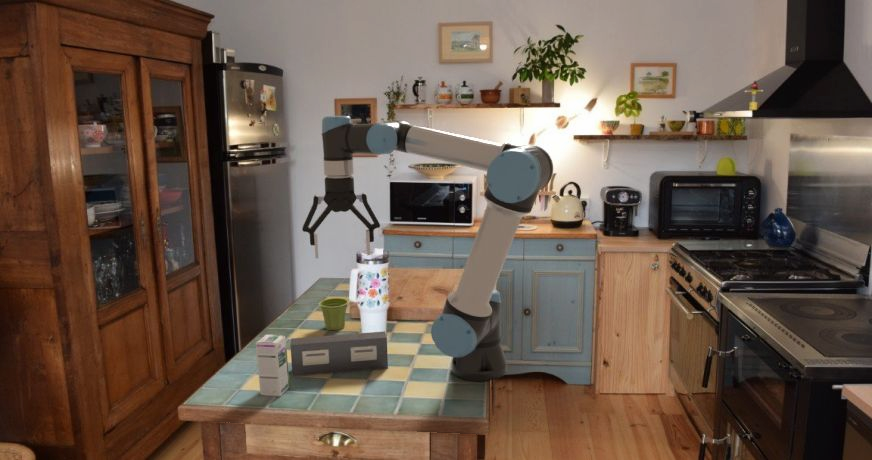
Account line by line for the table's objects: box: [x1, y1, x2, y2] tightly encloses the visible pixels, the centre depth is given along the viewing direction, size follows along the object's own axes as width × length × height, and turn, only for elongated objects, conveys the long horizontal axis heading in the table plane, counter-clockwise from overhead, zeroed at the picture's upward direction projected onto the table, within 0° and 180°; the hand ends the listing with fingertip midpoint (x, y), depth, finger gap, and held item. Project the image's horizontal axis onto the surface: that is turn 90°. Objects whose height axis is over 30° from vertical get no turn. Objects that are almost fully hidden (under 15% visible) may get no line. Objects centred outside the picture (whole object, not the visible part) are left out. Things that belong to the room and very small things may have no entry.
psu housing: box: [290, 331, 389, 377], centre depth 188 cm, size 26×6×9 cm, turn 99°
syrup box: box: [255, 334, 291, 397], centre depth 174 cm, size 6×6×14 cm
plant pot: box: [318, 297, 349, 331], centre depth 222 cm, size 9×9×9 cm
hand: (342, 255), depth 181 cm, fingers open, 13 cm apart
